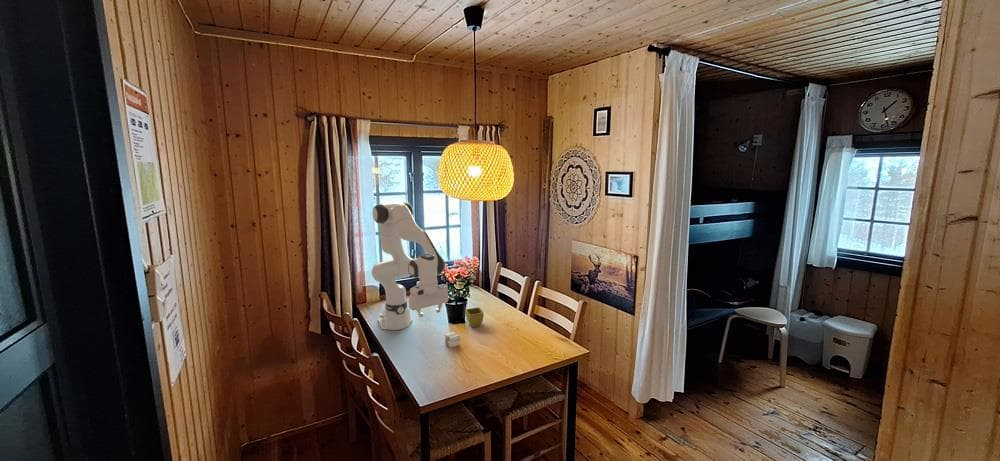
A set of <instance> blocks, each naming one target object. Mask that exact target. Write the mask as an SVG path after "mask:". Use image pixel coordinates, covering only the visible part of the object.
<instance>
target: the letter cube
mask: <svg viewBox="0 0 1000 461" xmlns="http://www.w3.org/2000/svg"><path fill="white" fill-rule="evenodd" d="M460 336H461V335H460V334H458V333H457V332H456V331H451V332H447V333H445V334H444V344H445V345H446V346H447V347H448V348H450V349H453V348H455V347H458V346H461V345H460V344H461V342H460V340H461V338H460Z"/></svg>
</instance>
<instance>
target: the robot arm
mask: <svg viewBox="0 0 1000 461" xmlns="http://www.w3.org/2000/svg"><path fill="white" fill-rule="evenodd" d="M372 218H373V220H374V222H376V223H377V224H379V235H380V236H379V237H380V243H381V250H382V251H383V252H384V253H385V254H387V255H389V256H391V257H392V260H387V261H385V260H384V261H381V262H378V263H375V264H374V265H373V267H372V269H371V276H372V278H373V280H375V281H376V282H378V283H380V284H381V285H382V287H383V288H384V289H383V290H384V292H385V299H386V301H385V306H384V309H382V310H381V314H379V317H378V318H377V323H379V326H380V328H381V330H389V331H390V330H391V331H398V330H403V329H406V328H408V327H410V325H411V323H413V322H414V320H413V318H411V313H410V310H411V311H416V312H417V313H418V317H419V318H423V317H424V313H423V312H421V311H422V309H425V308H429V307H433V306H437V308H436V309H435V312H436V313H437V314H439V313H441V309H442V308H443V304H446V303H448V302H449V299H450V298H449V292H448V291H449V289H448V285H447V284H445V283H444V284H443V283H442V284H438V283H439V282H438V277H437V276H438V275H441V274H442V273H443V272H444V270H445V268H446V267H445V266H446V263H445V260H444V258H443V257H442V256H441V254H439V252H438V250H437V248H436V247H435V245H434V243H433V242H432V240H431V238H430V236H429V234H428V233H427V232H426V230H424V229H422V228H420V227H419V225H418V224H417V223H416V221H415V218H414V209H413V206H412V204H410V203H409V202H406V201H402V202H388V203H383V204H382V203H378V204H375V205H374V206H373V208H372ZM402 240H403V241H406V242H412V243H416V244H419V245H420V246H421V247H422V248H423V250H424V252H425V253H422V254H420V255H419V256H418V257H417V258H411V257H409V255H408V254H407V253H406V252H405V250H404V247H403V243H402ZM409 277H412V278H414V279H417V278H418V280H419V283H418V284H416V285H415V286H413V287H411V288H410V289H409V293H410V294H409V296H408V301H407V290H406V288H405V286H404V285H402V284H400V283H397V280H399V279H404V278H409Z"/></svg>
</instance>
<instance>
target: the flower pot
mask: <svg viewBox="0 0 1000 461" xmlns="http://www.w3.org/2000/svg"><path fill="white" fill-rule="evenodd" d="M464 312H465V317H466V321H467V323H468V325H469V326H470V328H476V327H477V328H478V327H480V326H481V325H482V323H483V321H484V315H485V314H484V313H485V312H484V311H483V310H482V309H481V307H478V306H477V307H473V308H467V309H466V308H465V310H464Z"/></svg>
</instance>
